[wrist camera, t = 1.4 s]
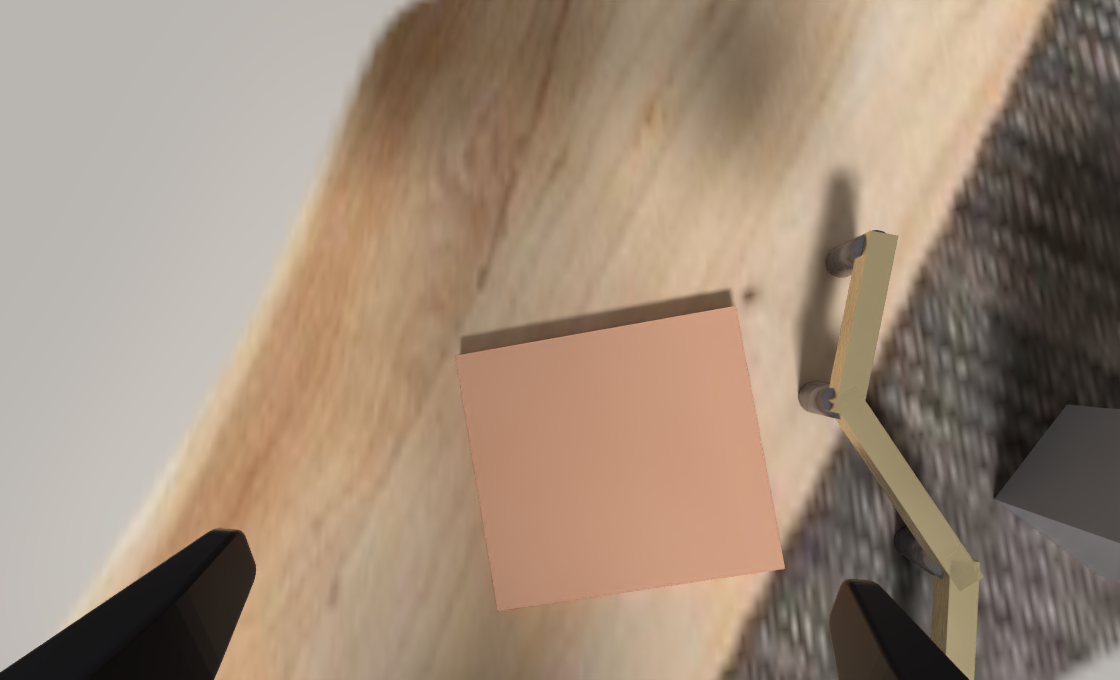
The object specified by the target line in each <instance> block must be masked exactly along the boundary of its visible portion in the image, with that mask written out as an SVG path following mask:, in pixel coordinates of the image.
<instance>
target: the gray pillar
mask: <svg viewBox="0 0 1120 680" xmlns="http://www.w3.org/2000/svg"><path fill="white" fill-rule="evenodd" d="M994 500H996V501H997V502H999V503H1000V504H1001V505H1003V506H1004V507H1005V508H1007V509H1008V510H1010V511H1011V512H1012V513H1014V514H1015V515H1016V516H1018V517H1019V518H1020V519H1022V520H1023V521H1025V522H1026V523H1027V524H1029V525H1030V526H1031V527H1033V528H1034V529H1036V530H1037V531H1038V532H1040V533H1041V534H1042V535H1044V536H1045V537H1047V538H1048V539H1049V540H1051V541H1052V542H1053V543H1055V544H1056V545H1057V546H1059V547H1060V548H1062V549H1063V550H1064V551H1066V552H1067V553H1068V554H1070V555H1071V556H1073V557H1074V558H1075V559H1077V560H1078V561H1079V562H1081V563H1082V564H1084V565H1085V566H1086V567H1088V568H1089V569H1090V570H1092V571H1093V572H1094V573H1096V574H1098V575H1100V576H1102V577H1104V578H1107V579H1109V580H1111V581H1114V582H1116V583H1118V584H1120V409H1111V408H1100V407H1089V406H1078V405H1066V406H1065V408H1064V409H1063V410H1062V411H1061V413H1060V414H1059V415H1058V417H1057V418H1056V419H1055V421H1054V422H1053V423H1052V424H1051V426H1050V427H1049V428H1048V430H1047V431H1046V432H1045V434H1044V435H1043V436H1042V437H1041V439H1040V440H1039V441H1038V443H1037V444H1036V445H1035V447H1034V448H1033V449H1032V450H1031V452H1030V453H1029V454H1028V456H1027V457H1026V458H1025V459H1024V461H1023V462H1022V463H1021V465H1020V466H1019V467H1018V469H1017V470H1016V471H1015V472H1014V474H1013V475H1012V476H1011V478H1010V479H1009V480H1008V482H1007V483H1006V484H1005V485H1004V487H1003V488H1002V489H1001V491H1000V492H999V493H998V495H997V496H996V497H995V498H994Z"/></svg>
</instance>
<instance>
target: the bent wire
mask: <svg viewBox="0 0 1120 680" xmlns="http://www.w3.org/2000/svg"><path fill="white" fill-rule="evenodd" d="M897 240H898V236H897V235H891V234H887V233H885V232H883V231H879V230H873V231H869V232H867V233H865V234H863V235H861V236H859V237H857V238H855V239H853V240H851V241H849V242H847V243H845V244H843V245H841V246H839V247H837V248H835V249H833V250H831V251H830V252H829V254H828V255H827V258H826V267H827V269H828V271H829V272H830V273H831V274H832V275H834V276H836V277H841V278H843V277H847V276H850V275H852V276H851V281H850V286H849V291H848V296H847V301H846V306H845V311H844V316H843V321H842V326H841V331H840V336H839V341H838V346H837V351H836V356H835V361H834V366H833V371H832V376H831V381H830V383H821V382H810V383H807V384H805V385H804V386H803V387H802V388H801V390H800V392H799V402H800V405H801V406H802V407H803V408H804V409H805V410H806V411H808V412H811V413H815V414H820V415H824V416H828V417H832V418H835V419H836V420H837V422H838V423H839V425H840V426H841V428H842V429H843V431H844V432H845V434H846V435H847V437H848V438H849V440H850V441H851V443H852V444H853V446H854V447H855V449H856V450H857V452H858V453H859V455H860V456H861V458H862V459H863V461H864V462H865V464H866V465H867V467H868V468H869V470H870V471H871V473H872V474H873V476H874V477H875V479H876V480H877V482H878V483H879V485H880V486H881V488H882V489H883V491H884V492H885V494H886V495H887V497H888V498H889V500H890V501H891V503H892V504H893V506H894V507H895V509H896V510H897V512H898V513H899V515H900V516H901V518H902V519H903V521H904V522H905V524H906V525H907V527H903V528H902V529H900V530H899V531H898V532H897V534H896V536H895V540H894V543H895V547H896V549H897V551H898V552H899V553H900V554H901V555H903V556H904V557H906V558H907V559H909V560H910V561H912V562H913V563H915V564H917V565H918V566H920V567H921V568H923V569H924V570H926V571H927V572H929V573H931V574H932V575H934V592H933V612H932V631H931V640H932V641H933V642H934V643H935V644H936V645H937V646H938V647H939V648H940V649H941V650H942V651H943V652H944V653H945V654H946V656H947V657H948V658H949V659H950V660H951V661H952V662H953V663H954V664H955V665H956V666H957V667H958V668H959V669H960V670H961V671H962V672H963V673H964V674H965V675H966V676H967V677H968V679H969V680H974V670H975V650H976V630H977V610H978V589H979V580H980V579H982V578H983V577H984V576H983V575H982V573H981V572H980V570H979V569H980V562H978V561H977V560H975V559H973V558H971V557H970V556H969V554H968V553H967V551H966V550H965V548H964V547H963V545H962V544H961V542H960V541H959V539H958V538H957V536H956V535H955V533H954V532H953V530H952V529H951V527H950V526H949V524H948V523H947V521H946V520H945V518H944V517H943V515H942V514H941V512H940V511H939V509H938V508H937V506H936V505H935V504H934V502H933V501H932V499H931V498H930V496H929V495H928V493H927V492H926V490H925V489H924V487H923V486H922V484H921V483H920V481H919V480H918V478H917V477H916V475H915V474H914V472H913V471H912V469H911V468H910V466H909V465H908V463H907V462H906V460H905V459H904V457H903V456H902V454H901V453H900V451H899V450H898V449H897V447H896V446H895V444H894V443H893V441H892V440H891V438H890V437H889V435H888V434H887V432H886V431H885V429H884V428H883V426H882V425H881V423H880V422H879V420H878V419H877V417H876V416H875V414H874V413H873V411H872V410H871V408H870V407H869V405H868V404H867V402H866V401H865V400H866V395H867V390H868V385H869V380H870V375H871V370H872V365H873V360H874V355H875V350H876V345H877V340H878V335H879V330H880V325H881V320H882V315H883V310H884V305H885V300H886V295H887V290H888V285H889V280H890V275H891V270H892V265H893V260H894V255H895V250H896V245H897Z"/></svg>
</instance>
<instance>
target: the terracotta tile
mask: <svg viewBox="0 0 1120 680" xmlns="http://www.w3.org/2000/svg"><path fill="white" fill-rule="evenodd" d="M455 357H456V363H457V369H458V375H459V381H460V387H461V393H462V399H463V405H464V411H465V417H466V423H467V429H468V435H469V442H470V448H471V454H472V460H473V466H474V472H475V478H476V484H477V490H478V496H479V502H480V508H481V514H482V520H483V526H484V533H485V539H486V545H487V551H488V557H489V563H490V569H491V575H492V581H493V587H494V593H495V599H496V605H497V611H503V610H509V609H516V608H523V607H530V606H536V605H543V604H550V603H557V602H564V601H570V600H577V599H584V598H591V597H597V596H604V595H611V594H618V593H624V592H631V591H638V590H645V589H651V588H658V587H665V586H672V585H678V584H685V583H692V582H699V581H705V580H712V579H719V578H726V577H732V576H739V575H746V574H753V573H759V572H766V571H773V570H780V569H785V566H784V561H783V556H782V550H781V545H780V540H779V535H778V529H777V524H776V519H775V513H774V508H773V503H772V497H771V492H770V487H769V482H768V476H767V471H766V466H765V460H764V455H763V450H762V444H761V439H760V434H759V428H758V423H757V418H756V413H755V407H754V402H753V397H752V391H751V386H750V381H749V375H748V370H747V365H746V360H745V354H744V349H743V344H742V338H741V333H740V328H739V322H738V317H737V312H736V307H735V306H732V307H726V308H721V309H715V310H709V311H704V312H698V313H693V314H687V315H681V316H676V317H670V318H664V319H659V320H653V321H647V322H642V323H636V324H630V325H625V326H619V327H614V328H608V329H602V330H597V331H591V332H585V333H580V334H574V335H568V336H563V337H557V338H552V339H546V340H540V341H535V342H529V343H523V344H518V345H512V346H506V347H501V348H495V349H489V350H484V351H478V352H473V353H467V354H461V355H456V356H455Z"/></svg>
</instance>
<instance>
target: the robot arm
mask: <svg viewBox="0 0 1120 680" xmlns="http://www.w3.org/2000/svg"><path fill="white" fill-rule="evenodd" d="M255 575H256V564H255V561H254V558H253V556H252V553H251V550H250V547H249V545H248V542H247V539H246V536H245V535H244V533H243V532H242V531H240V530H235V529H222V528H218V529H214V530H211V531H209V532H208V533H206V534H205V535H203V536H202V537H200V538H199V539H197V540H196V541H194V542H193V543H191V544H190V545H188V546H187V547H185V548H184V549H182V550H181V551H179V552H178V553H176V554H175V555H173V556H172V557H170V558H169V559H168V560H166V561H165V562H163V563H162V564H160V565H159V566H157V567H156V568H154V569H153V570H151V571H150V572H148V573H147V574H145V575H144V576H142V577H141V578H139V579H138V580H136V581H135V582H133V583H132V584H130V585H129V586H128V587H126V588H125V589H123V590H122V591H120V592H119V593H117V594H116V595H114V596H113V597H111V598H110V599H108V600H107V601H105V602H104V603H102V604H101V605H99V606H98V607H96V608H95V609H93V610H92V611H90V612H89V613H88V614H86V615H85V616H83V617H82V618H80V619H79V620H77V621H76V622H74V623H73V624H71V625H70V626H68V627H67V628H65V629H64V630H62V631H61V632H59V633H58V634H56V635H55V636H53V637H52V638H50V639H49V640H47V641H46V642H45V643H43V644H42V645H40V646H39V647H37V648H36V649H34V650H33V651H31V652H30V653H28V654H27V655H25V656H24V657H22V658H21V659H19V660H18V661H16V662H15V663H13V664H12V665H10V666H9V667H8V668H6V669H5V670H3V671H2V672H0V680H214V678H215V676H216V674H217V672H218V669H219V667H220V665H221V662H222V660H223V657H224V655H225V652H226V650H227V647H228V645H229V642H230V640H231V637H232V635H233V632H234V630H235V627H236V625H237V622H238V620H239V617H240V615H241V612H242V610H243V607H244V605H245V602H246V600H247V597H248V595H249V592H250V590H251V587H252V585H253V582H254V579H255ZM829 628H830V635H831V640H832V645H833V651H834V656H835V662H836V667H837V673H838V678H839V680H969V679H968V677H967V676H966V675H965V674H964V673H963V672H962V671H961V670H960V669H959V668H958V667H957V666H956V665H955V664H954V663H953V662H952V661H951V660H950V659H949V658H948V657H947V656H946V654H945V653H944V652H943V651H942V650H941V649H940V648H939V647H938V646H937V645H936V644H935V643H934V642H933V641H932V640H931V639H930V638H929V637H928V636H927V635H926V634H925V633H924V631H923V630H922V629H921V628H920V627H919V626H918V625H917V624H916V623H915V622H914V621H913V620H912V619H911V618H910V617H909V616H908V615H907V614H906V613H905V612H904V611H903V609H902V608H901V607H900V606H899V605H898V604H897V603H896V602H895V601H894V600H893V599H892V598H891V597H890V596H889V595H888V594H887V593H886V592H885V591H884V590H883V589H882V588H881V587H880V586H879V585H878V584H877V583H875V582H873V581H870V580H859V579H846V580H844V581H843V582H842V584H841V586H840V588H839V591H838V594H837V596H836V599H835V602H834V604H833V607H832V610H831V613H830V618H829Z"/></svg>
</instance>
